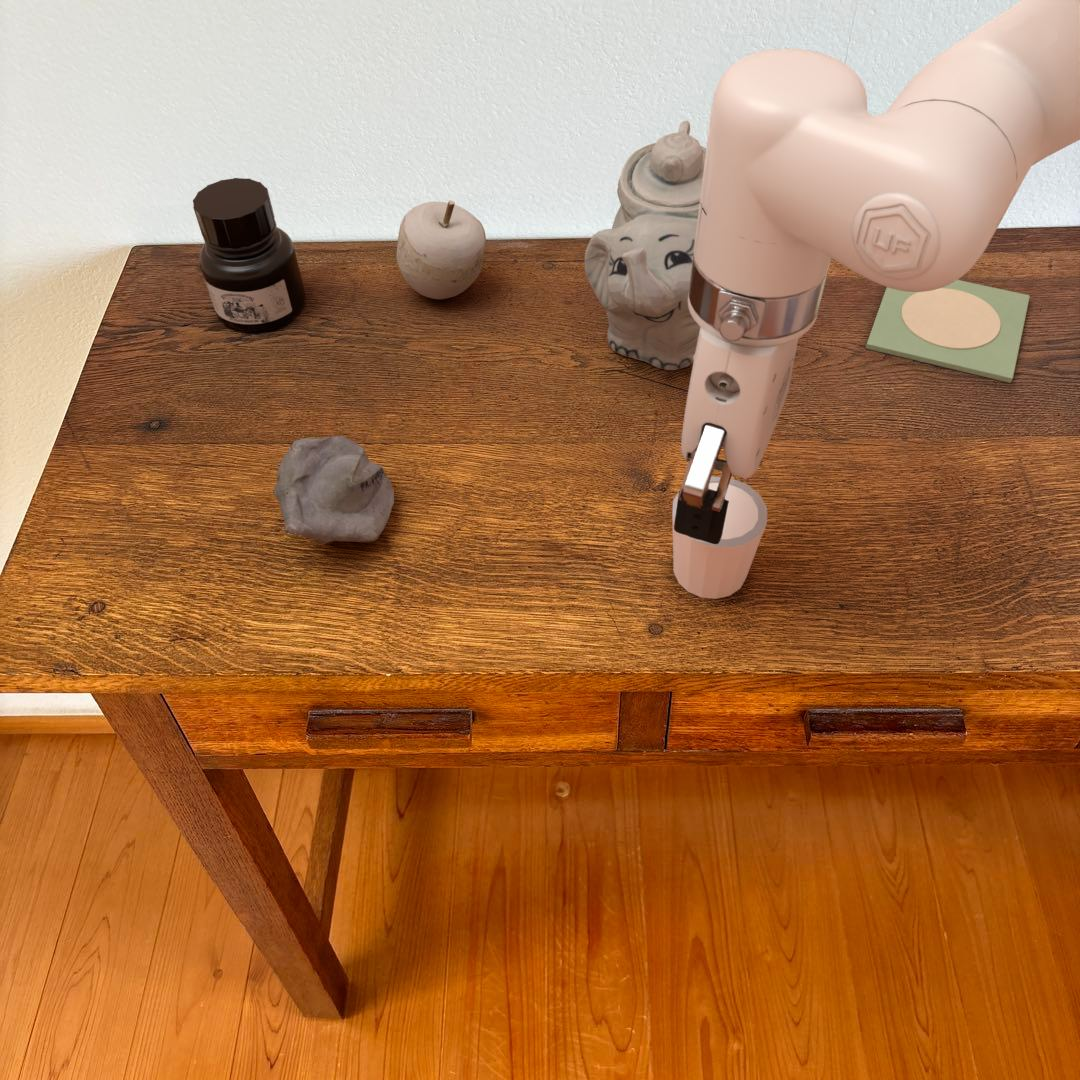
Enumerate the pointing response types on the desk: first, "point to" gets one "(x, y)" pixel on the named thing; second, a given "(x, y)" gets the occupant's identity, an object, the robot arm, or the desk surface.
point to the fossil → (332, 491)
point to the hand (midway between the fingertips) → (718, 486)
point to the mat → (953, 328)
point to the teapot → (652, 253)
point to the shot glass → (721, 545)
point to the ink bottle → (247, 257)
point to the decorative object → (440, 249)
